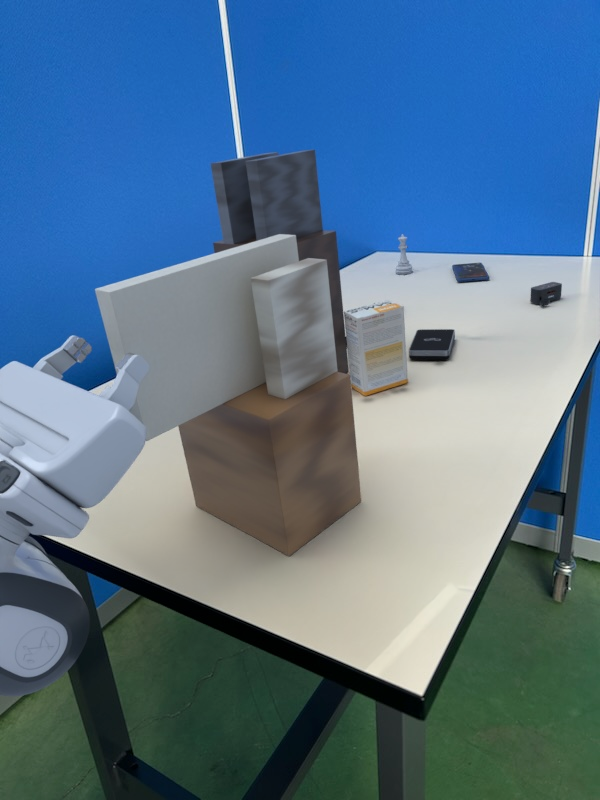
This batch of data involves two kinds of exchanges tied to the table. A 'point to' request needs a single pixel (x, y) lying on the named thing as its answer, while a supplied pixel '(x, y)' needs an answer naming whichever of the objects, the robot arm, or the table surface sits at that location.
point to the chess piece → (403, 259)
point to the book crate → (282, 423)
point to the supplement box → (376, 346)
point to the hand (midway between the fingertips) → (110, 349)
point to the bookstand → (280, 215)
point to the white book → (192, 330)
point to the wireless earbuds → (546, 293)
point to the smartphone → (470, 272)
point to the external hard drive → (432, 344)
